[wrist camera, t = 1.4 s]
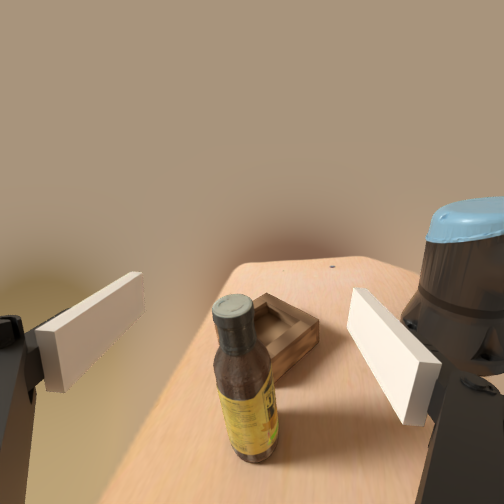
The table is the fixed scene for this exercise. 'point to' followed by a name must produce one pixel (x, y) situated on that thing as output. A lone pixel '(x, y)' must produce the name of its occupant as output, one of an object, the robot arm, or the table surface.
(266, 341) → the crate
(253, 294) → the table surface
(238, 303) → the sauce bottle
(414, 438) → the table surface
